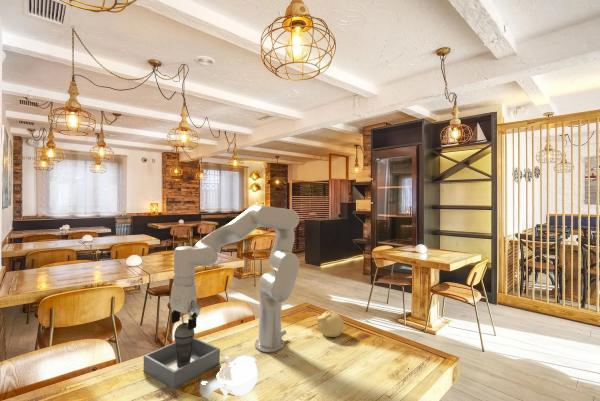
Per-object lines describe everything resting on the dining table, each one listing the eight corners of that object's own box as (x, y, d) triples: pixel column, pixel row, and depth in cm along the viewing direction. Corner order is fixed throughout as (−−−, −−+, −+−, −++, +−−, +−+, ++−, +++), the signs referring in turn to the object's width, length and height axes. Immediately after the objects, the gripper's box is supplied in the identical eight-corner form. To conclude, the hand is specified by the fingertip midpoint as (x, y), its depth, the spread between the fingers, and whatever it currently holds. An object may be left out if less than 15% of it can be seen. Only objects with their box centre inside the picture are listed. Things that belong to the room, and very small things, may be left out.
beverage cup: (187, 371, 115) (188, 316, 115) (168, 368, 117) (170, 314, 116) (197, 361, 122) (198, 309, 122) (180, 358, 124) (181, 307, 124)
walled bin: (189, 349, 133) (190, 335, 133) (219, 363, 123) (219, 348, 123) (143, 371, 116) (143, 355, 116) (173, 390, 106) (174, 372, 106)
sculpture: (325, 326, 160) (326, 305, 159) (347, 333, 152) (348, 311, 152) (313, 334, 150) (313, 312, 150) (335, 342, 143) (336, 318, 143)
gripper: (161, 278, 120) (160, 322, 121) (190, 286, 111) (190, 335, 111) (178, 274, 126) (178, 316, 127) (208, 281, 117) (207, 327, 117)
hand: (183, 325), depth 119 cm, fingers open, 9 cm apart
